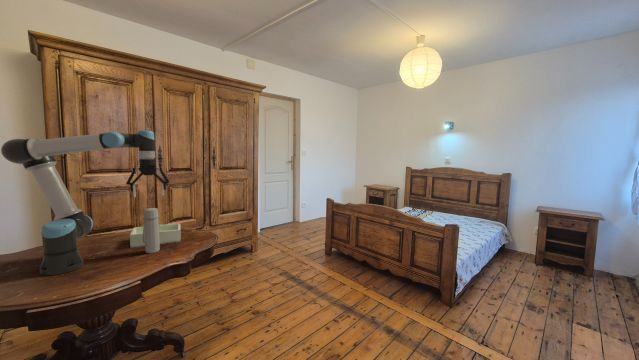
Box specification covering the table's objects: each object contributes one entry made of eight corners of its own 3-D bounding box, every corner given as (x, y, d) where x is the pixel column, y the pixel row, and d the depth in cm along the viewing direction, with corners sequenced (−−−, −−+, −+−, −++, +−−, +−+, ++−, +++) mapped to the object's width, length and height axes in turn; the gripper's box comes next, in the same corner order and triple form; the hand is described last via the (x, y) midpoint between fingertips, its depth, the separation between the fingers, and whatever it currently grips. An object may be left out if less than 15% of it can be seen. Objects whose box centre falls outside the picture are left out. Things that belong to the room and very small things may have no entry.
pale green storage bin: (130, 247, 156) (129, 234, 155) (134, 239, 171) (134, 227, 170) (180, 241, 169) (180, 229, 168) (180, 234, 183) (180, 223, 182)
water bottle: (163, 249, 156) (161, 208, 153) (153, 254, 148) (151, 211, 145) (148, 248, 156) (146, 207, 154) (138, 253, 149) (136, 210, 146)
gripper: (118, 158, 137) (120, 198, 139) (172, 159, 149) (174, 195, 151) (121, 158, 144) (123, 196, 146) (173, 158, 155) (174, 193, 158)
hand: (149, 196), depth 149 cm, fingers open, 13 cm apart
